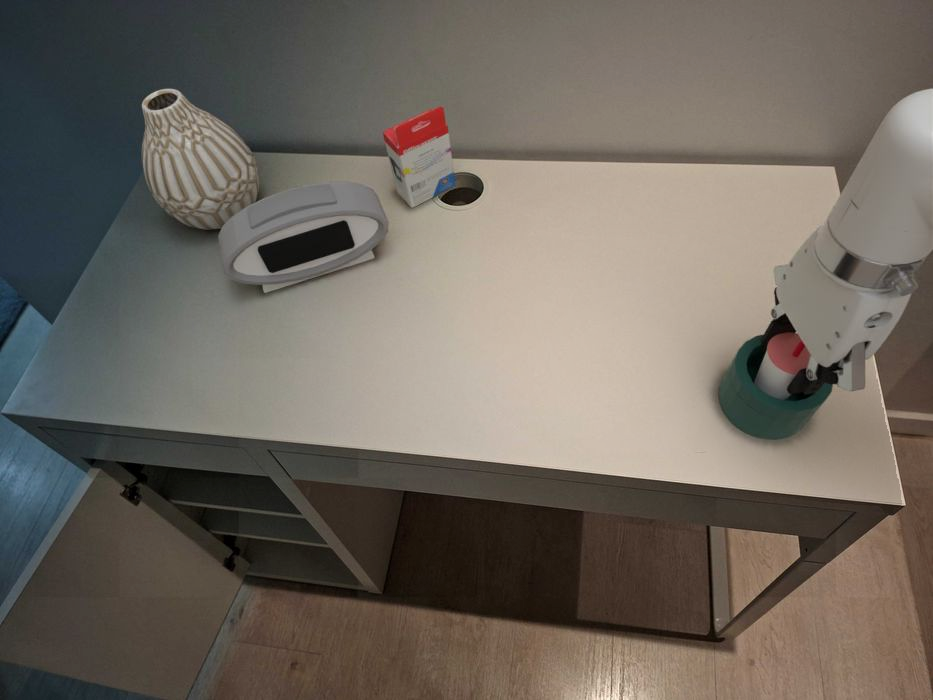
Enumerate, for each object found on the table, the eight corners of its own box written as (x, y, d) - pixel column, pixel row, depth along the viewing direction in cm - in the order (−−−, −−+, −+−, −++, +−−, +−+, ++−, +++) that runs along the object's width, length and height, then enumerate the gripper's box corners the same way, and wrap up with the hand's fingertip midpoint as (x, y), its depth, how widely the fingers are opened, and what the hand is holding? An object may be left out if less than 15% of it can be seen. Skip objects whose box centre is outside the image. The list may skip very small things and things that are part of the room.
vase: (262, 166, 102) (211, 54, 86) (280, 226, 94) (227, 114, 77) (170, 195, 100) (99, 86, 84) (180, 259, 91) (103, 151, 75)
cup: (764, 424, 67) (805, 367, 57) (731, 388, 70) (765, 328, 60) (801, 403, 68) (848, 344, 58) (768, 368, 71) (807, 306, 61)
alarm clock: (243, 304, 85) (203, 241, 75) (238, 274, 89) (198, 210, 78) (397, 255, 88) (379, 188, 77) (386, 228, 91) (368, 160, 81)
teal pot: (783, 359, 73) (805, 326, 67) (823, 430, 67) (851, 400, 62) (705, 374, 73) (720, 342, 67) (739, 447, 67) (759, 418, 61)
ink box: (440, 170, 98) (428, 88, 86) (456, 186, 95) (446, 104, 83) (395, 193, 96) (376, 112, 83) (411, 210, 93) (393, 129, 81)
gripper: (982, 320, 43) (865, 429, 59) (857, 169, 53) (784, 297, 68) (883, 339, 43) (791, 444, 58) (775, 185, 53) (720, 309, 68)
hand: (788, 364), depth 63 cm, fingers closed on cup, 5 cm apart
